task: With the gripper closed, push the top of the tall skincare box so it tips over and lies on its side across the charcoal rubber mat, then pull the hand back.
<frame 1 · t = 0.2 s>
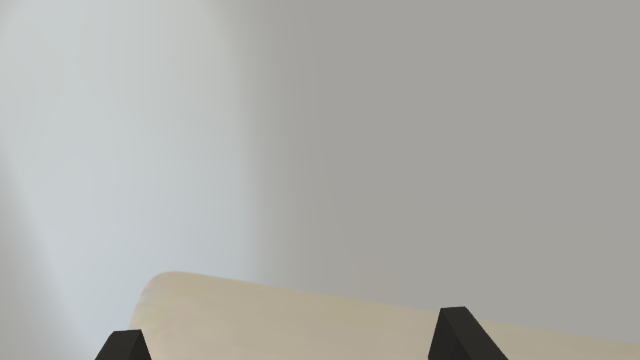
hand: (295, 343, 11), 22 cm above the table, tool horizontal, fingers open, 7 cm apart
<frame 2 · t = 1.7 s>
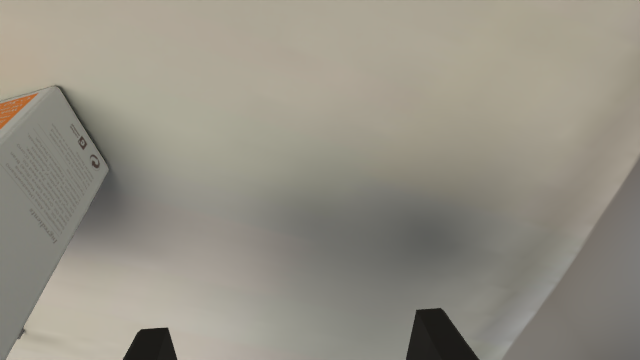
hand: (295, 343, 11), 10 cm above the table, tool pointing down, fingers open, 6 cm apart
skincare box: (20, 142, 19), on the table
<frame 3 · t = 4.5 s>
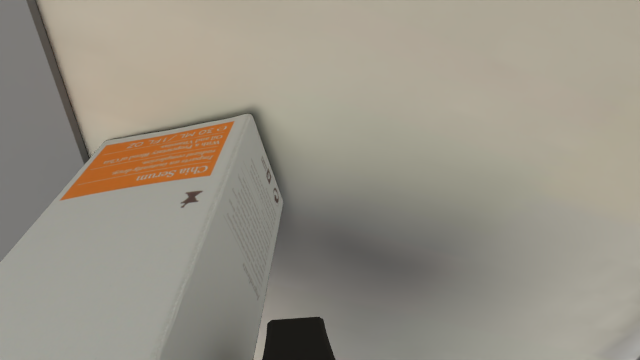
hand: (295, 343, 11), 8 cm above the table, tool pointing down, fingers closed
skincare box: (196, 166, 17), on the table
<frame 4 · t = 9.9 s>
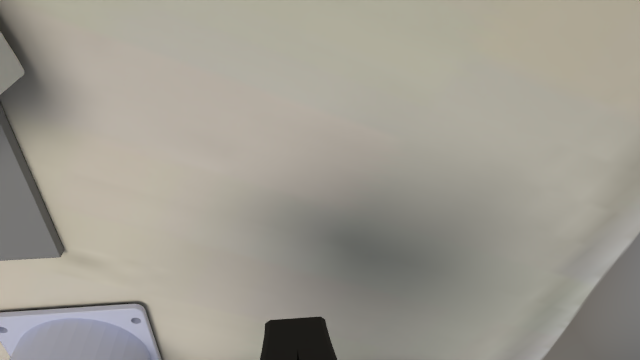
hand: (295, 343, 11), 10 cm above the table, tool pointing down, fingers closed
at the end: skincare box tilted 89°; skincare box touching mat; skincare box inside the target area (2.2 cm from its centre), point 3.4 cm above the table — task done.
